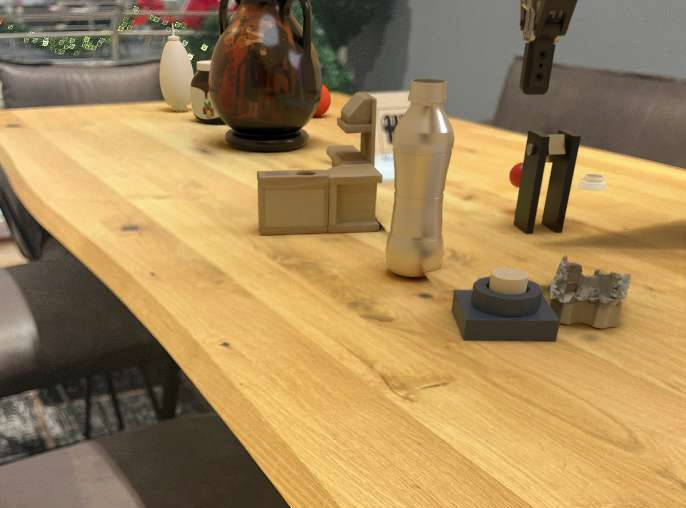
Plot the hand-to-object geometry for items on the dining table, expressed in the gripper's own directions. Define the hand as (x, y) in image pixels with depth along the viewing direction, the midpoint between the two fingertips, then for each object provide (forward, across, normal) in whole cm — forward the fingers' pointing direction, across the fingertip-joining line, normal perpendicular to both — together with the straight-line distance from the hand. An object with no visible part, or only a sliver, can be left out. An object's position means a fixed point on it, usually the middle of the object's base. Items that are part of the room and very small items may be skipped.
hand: (532, 93), depth 66 cm
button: (+17, -1, 0) cm, 17 cm away
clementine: (+21, +123, +21) cm, 126 cm away
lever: (+14, +32, -10) cm, 36 cm away
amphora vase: (+21, +88, +30) cm, 96 cm away
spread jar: (+21, +114, +42) cm, 123 cm away
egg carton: (+21, +4, -10) cm, 24 cm away
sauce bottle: (+21, +127, +54) cm, 140 cm away
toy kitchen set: (+21, +39, +20) cm, 48 cm away
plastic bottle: (+21, +14, +8) cm, 26 cm away
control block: (+21, -1, 0) cm, 21 cm away
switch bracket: (+21, +29, -10) cm, 37 cm away
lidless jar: (+21, +53, -24) cm, 61 cm away
